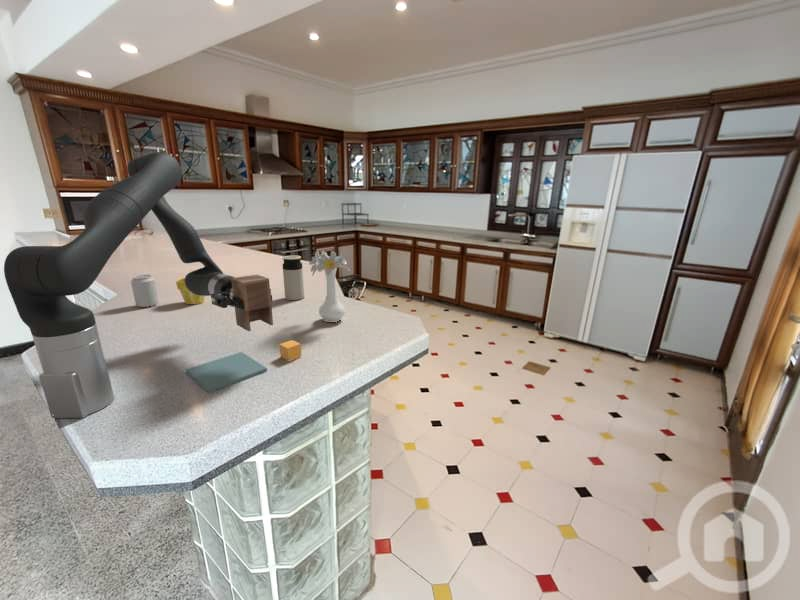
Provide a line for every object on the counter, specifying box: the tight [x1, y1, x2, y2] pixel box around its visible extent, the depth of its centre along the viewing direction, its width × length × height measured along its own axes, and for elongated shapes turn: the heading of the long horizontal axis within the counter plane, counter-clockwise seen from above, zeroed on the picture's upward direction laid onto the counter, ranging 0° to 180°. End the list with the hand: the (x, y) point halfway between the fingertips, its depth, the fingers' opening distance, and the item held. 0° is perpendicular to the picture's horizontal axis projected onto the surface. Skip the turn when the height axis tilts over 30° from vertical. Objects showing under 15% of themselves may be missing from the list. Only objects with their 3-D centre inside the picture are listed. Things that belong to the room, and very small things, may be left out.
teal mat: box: [185, 351, 268, 394], centre depth 88 cm, size 14×14×1 cm
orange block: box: [279, 339, 302, 362], centre depth 96 cm, size 4×4×4 cm
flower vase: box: [308, 250, 351, 323], centre depth 122 cm, size 13×18×25 cm
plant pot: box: [175, 277, 206, 305], centre depth 142 cm, size 10×10×10 cm
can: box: [130, 274, 160, 308], centre depth 137 cm, size 8×8×12 cm
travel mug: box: [282, 255, 305, 301], centre depth 149 cm, size 8×8×18 cm
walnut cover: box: [231, 274, 274, 332], centre depth 87 cm, size 6×6×12 cm
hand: (256, 301), depth 85 cm, fingers closed on walnut cover, 6 cm apart
